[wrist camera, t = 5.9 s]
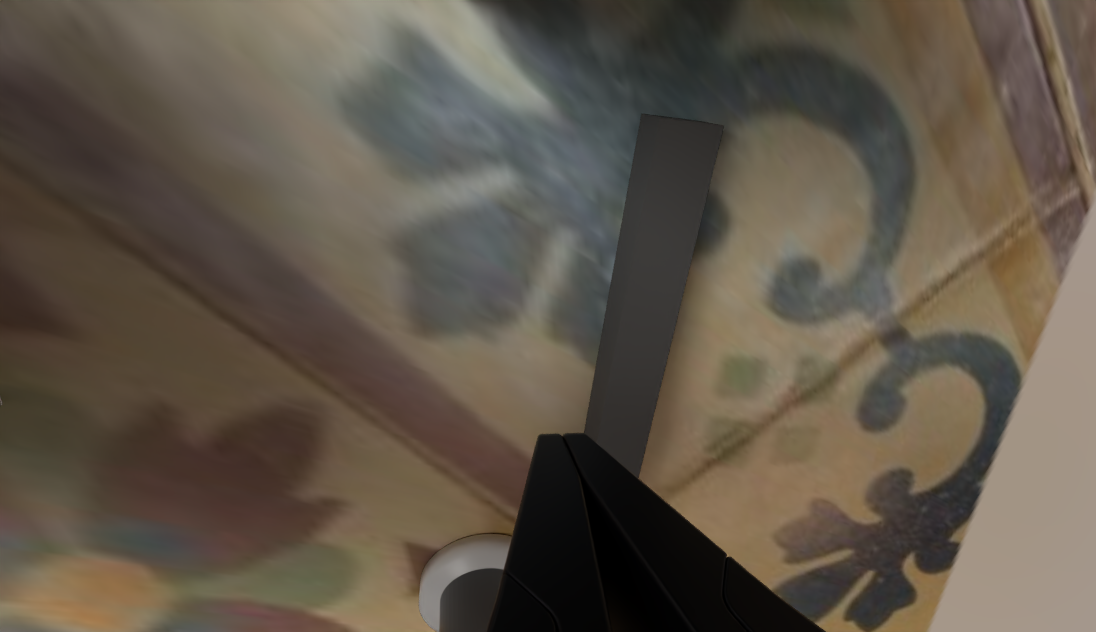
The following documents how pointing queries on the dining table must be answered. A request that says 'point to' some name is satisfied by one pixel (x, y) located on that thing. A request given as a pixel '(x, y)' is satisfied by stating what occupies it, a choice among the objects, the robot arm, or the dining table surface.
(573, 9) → the dining table surface
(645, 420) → the dark grey rectangular bar
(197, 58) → the dining table surface
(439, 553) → the cord spool
